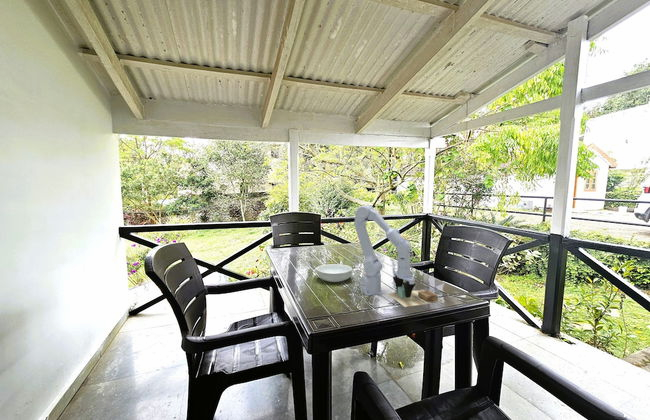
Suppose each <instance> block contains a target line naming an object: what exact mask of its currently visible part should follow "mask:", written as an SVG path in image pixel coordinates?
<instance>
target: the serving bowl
mask: <svg viewBox="0 0 650 420" xmlns="http://www.w3.org/2000/svg"><path fill="white" fill-rule="evenodd" d="M315 269H316V274H317V276H318V277H319V278H320V279H321V280H323V281H326V282H330V283H340V282H343V281H346V280H348V279H349V278H350V277H351V275H352V273H353V268H352V267H351V266H350V265H346V264H342V263H341V264H340V263H331V264H330V263H328V264H327V263H326V264H322V265H319V266H317V267H316V268H315Z"/></svg>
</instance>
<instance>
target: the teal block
mask: <svg viewBox="0 0 650 420" xmlns="http://www.w3.org/2000/svg"><path fill="white" fill-rule="evenodd" d="M397 293H398V296H400V297H401V298H406V296H405V289H404V285H403V286H402V287H398V292H397Z"/></svg>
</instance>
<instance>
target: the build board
mask: <svg viewBox="0 0 650 420" xmlns="http://www.w3.org/2000/svg"><path fill="white" fill-rule="evenodd" d="M422 291H425V290H424V289H417V290H412V293H411V297H409V298H401V297H400V296H398V292H391V293H387V295H388V296H389V297H391V298H392V299H394V300H395V301H396V302H397V303H399V304H400V305H402V306H403V307H404V308H407V307H415V306H423V305H429V304H430V305H431V304H437V303H444V302H445V301H444V300H442V299H440V298H439V297H438V300H437V301H430V302H425V301H424V300H422V299H421V298H419V297H418V292H422Z"/></svg>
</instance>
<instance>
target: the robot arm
mask: <svg viewBox="0 0 650 420" xmlns="http://www.w3.org/2000/svg"><path fill="white" fill-rule="evenodd" d="M354 214H355V216H354V222H353V225H354V228H355V229H354V230H355V232H356V234H357V238H358V241H359V244H360V248H361V250H362V253H363V256H364V262H363V263H364V272H365V275H362V276H361V278H360V291H361V292H362V293H363V294H364V295H366V296H375V295H383V294H385V292H384V291H382V290H381V288H382V284H381V282H382V281H381V280H382V273H381V271H382V269H383V265H382V264H383V263H382V262H381V261H380V260H379V257H378V256H377V254H375V251H374V248H373V245H372V243H371V238H370V236H369V233H368V229H367V226H366V224H367V222H368V220H369V221H374V222H375V223H376V224H377V225H378V226H379V227H380V228H381V230H382V231H384V232H385V238H386V239H388V240H389V242H390V243H391V244H392V245H393V246H394V247H395V249H396V252H397V270H395V271H393V272H394V274H393V275H394V276H393V277H392V279H393V282H394V283H395V288H396V291H397V292H396V293H398V287H403V286H404V289H405V296H406V298H409V297H411V293H412V291H414V290H413V289H414V287H415V286H416V282H415V279H413V274H411V252H410V251H411V249H412V245H411V243H410V241H409V240H407V238H405V237H404V236H403V235H401V234H400V230H398V229H396V228H392V227H391V226H390V225H389V224H388V222H387V221H386V220H385V219H384V217H382V215H381V214H380V213H379V212H378V210H377V209H376V208H374V206H372V205H371V204H365V205H359V207H357V209H356V210H355V212H354ZM404 281H405V282H404Z"/></svg>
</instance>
